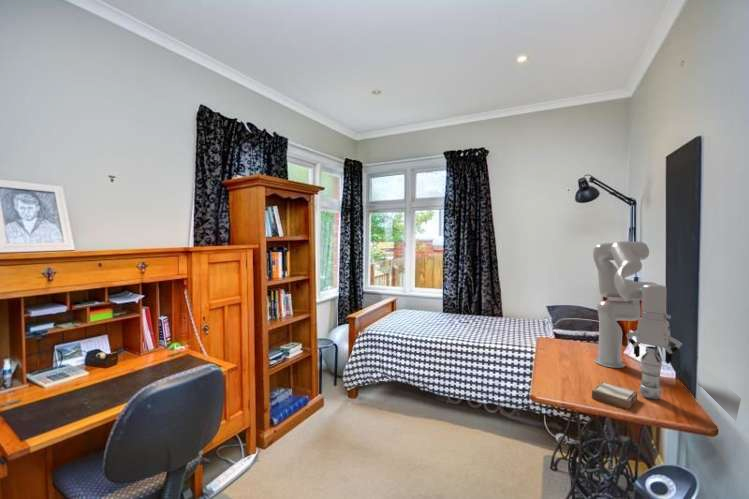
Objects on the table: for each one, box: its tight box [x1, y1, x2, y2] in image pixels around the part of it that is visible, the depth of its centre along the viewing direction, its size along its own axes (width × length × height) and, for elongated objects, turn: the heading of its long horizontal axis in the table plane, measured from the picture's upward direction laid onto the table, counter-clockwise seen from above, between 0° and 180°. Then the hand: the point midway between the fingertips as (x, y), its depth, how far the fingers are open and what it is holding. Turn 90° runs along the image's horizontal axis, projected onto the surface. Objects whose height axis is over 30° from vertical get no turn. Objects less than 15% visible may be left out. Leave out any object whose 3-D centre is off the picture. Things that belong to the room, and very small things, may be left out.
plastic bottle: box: [639, 345, 663, 400], centre depth 139 cm, size 6×7×20 cm
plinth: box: [591, 381, 638, 410], centre depth 138 cm, size 12×12×3 cm
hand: (652, 359), depth 138 cm, fingers open, 9 cm apart
